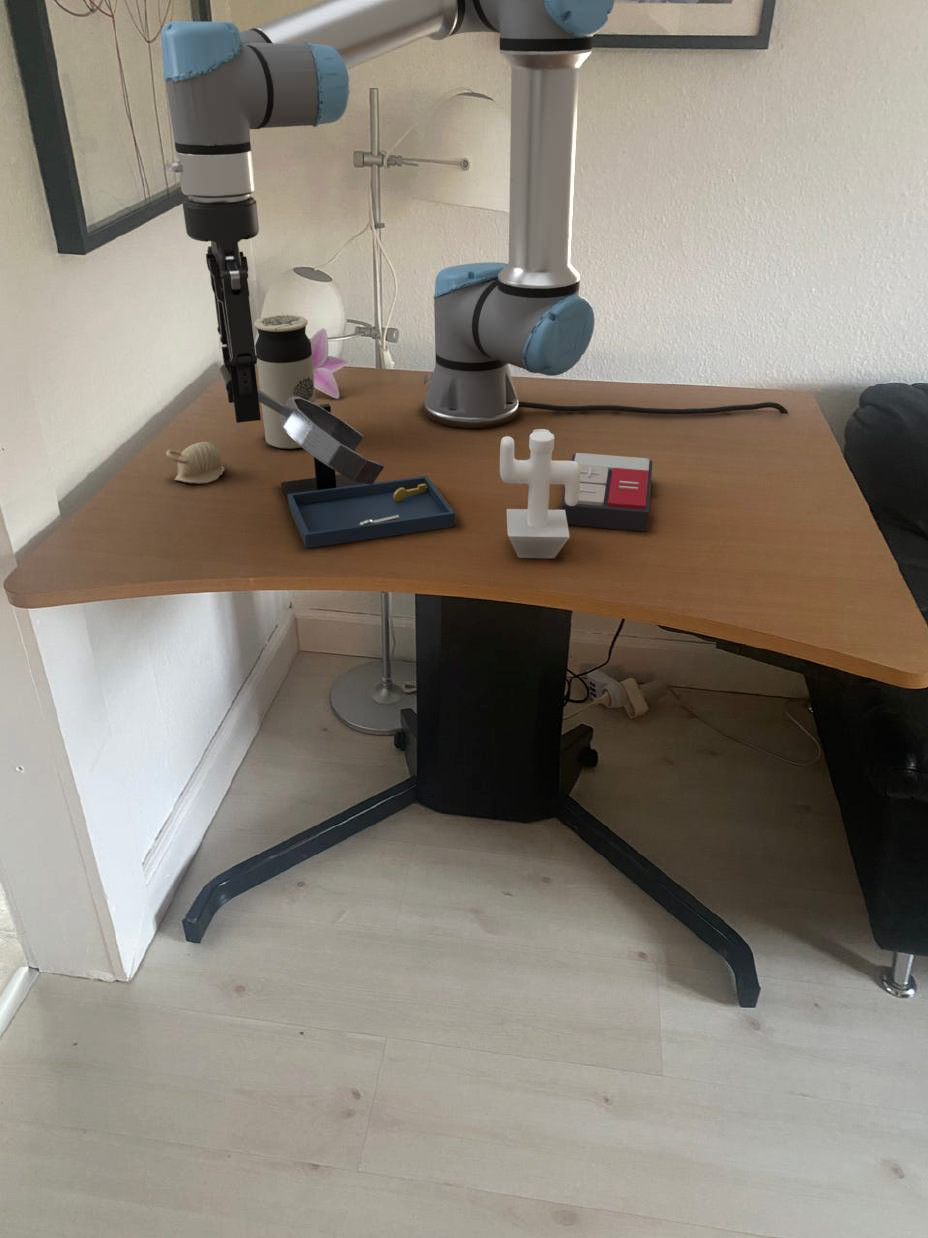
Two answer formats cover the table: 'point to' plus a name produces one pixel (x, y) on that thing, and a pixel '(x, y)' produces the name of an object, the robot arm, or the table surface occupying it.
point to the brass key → (409, 492)
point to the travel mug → (283, 369)
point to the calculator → (611, 492)
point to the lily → (324, 365)
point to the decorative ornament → (198, 463)
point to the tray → (367, 512)
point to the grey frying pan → (320, 434)
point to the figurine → (538, 496)
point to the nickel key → (380, 520)
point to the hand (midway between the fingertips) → (244, 409)
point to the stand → (318, 477)
